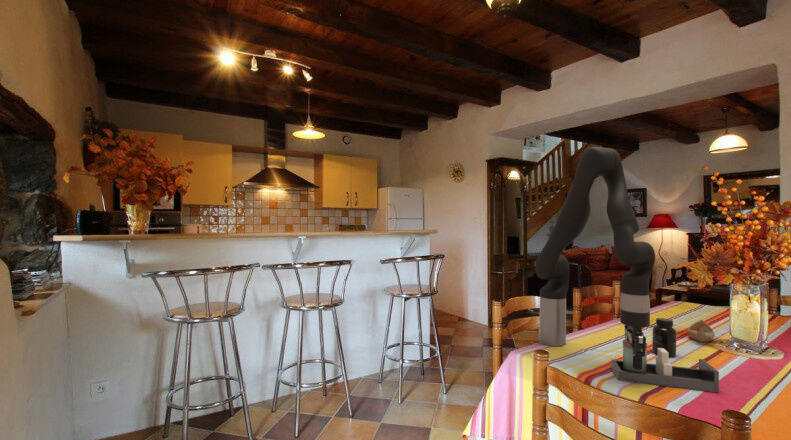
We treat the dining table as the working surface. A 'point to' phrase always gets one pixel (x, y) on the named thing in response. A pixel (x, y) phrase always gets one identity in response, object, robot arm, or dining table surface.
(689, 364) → the dining table surface
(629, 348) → the jar
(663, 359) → the block
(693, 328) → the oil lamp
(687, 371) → the tray
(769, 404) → the dining table surface
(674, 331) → the supplement bottle
